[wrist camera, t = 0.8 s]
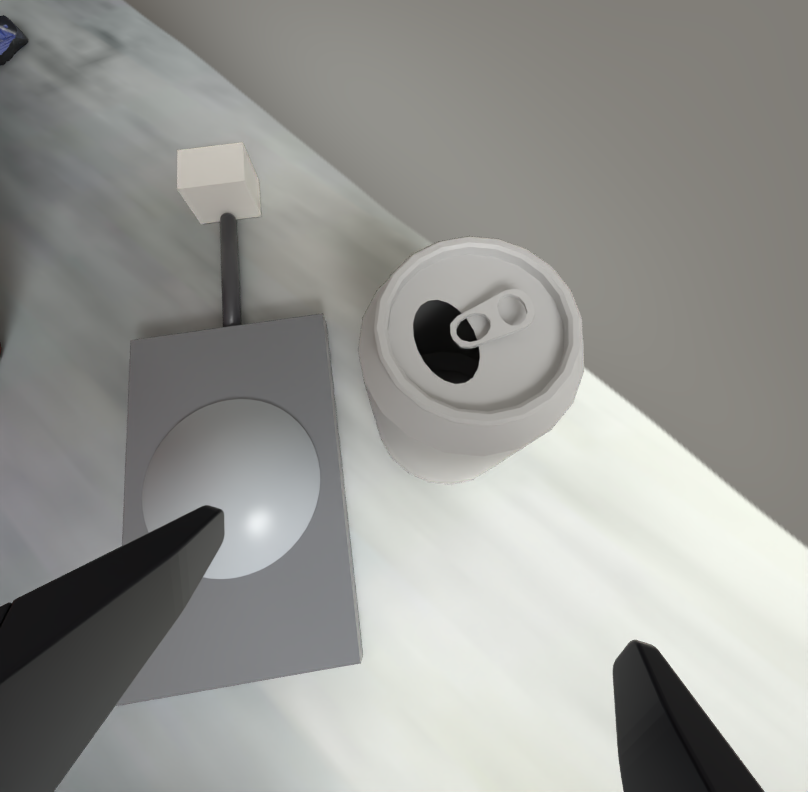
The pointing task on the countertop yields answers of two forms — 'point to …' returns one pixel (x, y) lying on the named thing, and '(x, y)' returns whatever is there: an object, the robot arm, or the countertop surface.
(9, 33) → the snack package
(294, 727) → the countertop surface
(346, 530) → the pad
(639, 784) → the robot arm
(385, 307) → the can
